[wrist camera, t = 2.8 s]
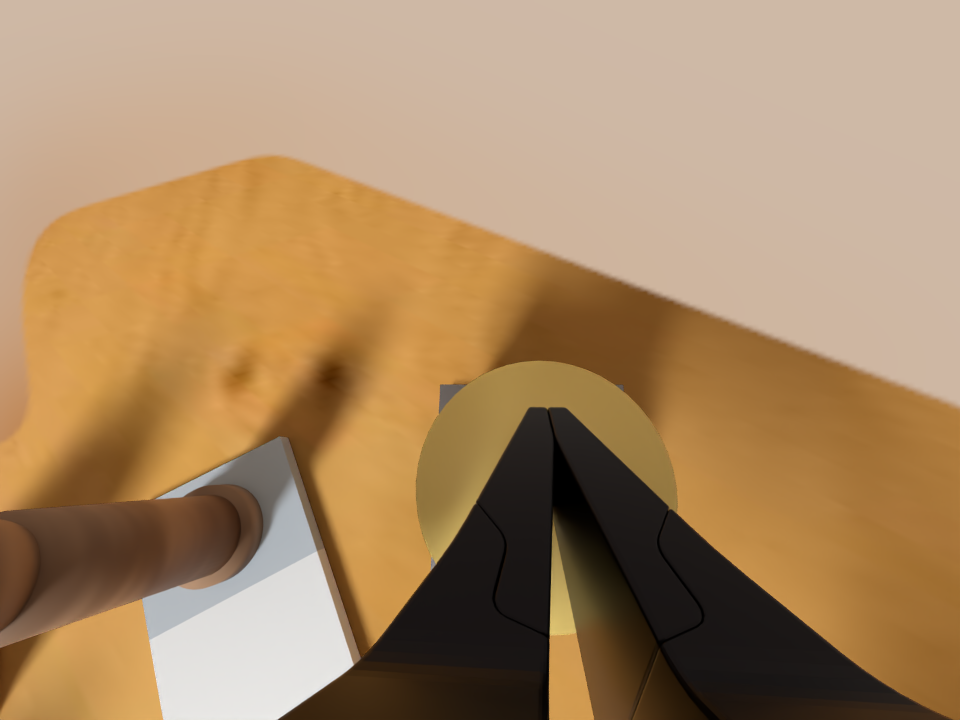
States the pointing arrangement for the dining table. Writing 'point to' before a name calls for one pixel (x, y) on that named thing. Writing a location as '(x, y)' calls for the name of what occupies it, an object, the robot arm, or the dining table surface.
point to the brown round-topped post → (118, 554)
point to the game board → (254, 610)
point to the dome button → (490, 426)
